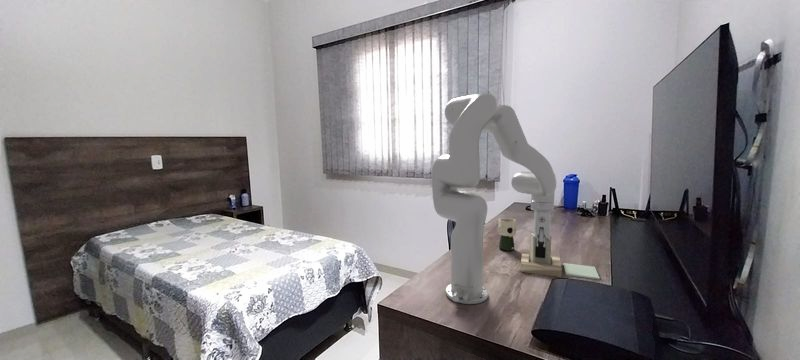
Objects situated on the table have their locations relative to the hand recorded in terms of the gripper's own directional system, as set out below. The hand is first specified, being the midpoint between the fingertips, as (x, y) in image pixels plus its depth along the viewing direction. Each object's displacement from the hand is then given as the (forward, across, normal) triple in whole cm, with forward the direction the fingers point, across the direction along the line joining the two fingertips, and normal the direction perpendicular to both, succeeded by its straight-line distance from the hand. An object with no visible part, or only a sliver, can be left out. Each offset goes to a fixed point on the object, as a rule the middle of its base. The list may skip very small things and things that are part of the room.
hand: (540, 254), depth 113 cm
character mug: (+5, +16, +13) cm, 21 cm away
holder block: (+5, 0, 0) cm, 5 cm away
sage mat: (+5, +1, -13) cm, 14 cm away
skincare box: (+5, 0, 0) cm, 5 cm away
